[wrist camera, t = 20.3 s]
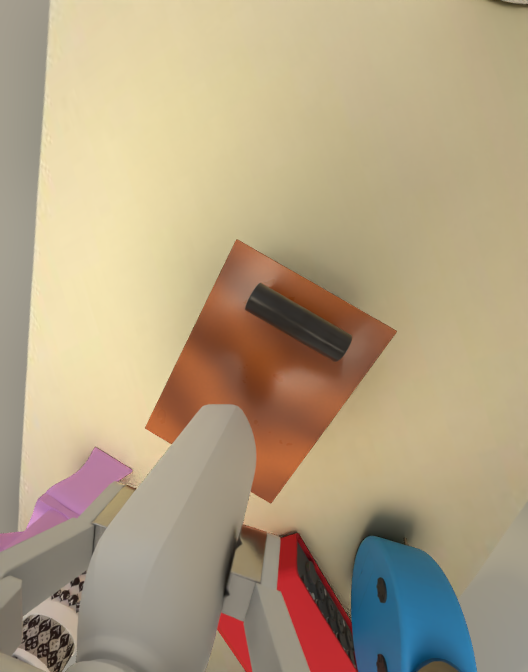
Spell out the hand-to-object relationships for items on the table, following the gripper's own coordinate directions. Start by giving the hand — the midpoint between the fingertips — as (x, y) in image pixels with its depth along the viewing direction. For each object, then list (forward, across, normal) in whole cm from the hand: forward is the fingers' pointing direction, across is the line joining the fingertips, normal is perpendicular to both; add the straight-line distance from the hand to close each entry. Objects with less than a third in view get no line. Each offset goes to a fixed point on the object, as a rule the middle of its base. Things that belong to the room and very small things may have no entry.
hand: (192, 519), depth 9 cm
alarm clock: (+20, -20, +21) cm, 35 cm away
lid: (+11, 0, -1) cm, 11 cm away
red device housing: (+20, -10, +33) cm, 40 cm away
